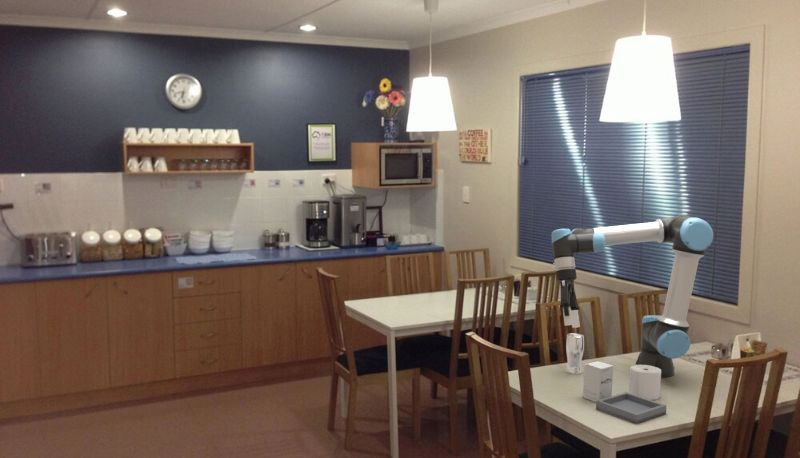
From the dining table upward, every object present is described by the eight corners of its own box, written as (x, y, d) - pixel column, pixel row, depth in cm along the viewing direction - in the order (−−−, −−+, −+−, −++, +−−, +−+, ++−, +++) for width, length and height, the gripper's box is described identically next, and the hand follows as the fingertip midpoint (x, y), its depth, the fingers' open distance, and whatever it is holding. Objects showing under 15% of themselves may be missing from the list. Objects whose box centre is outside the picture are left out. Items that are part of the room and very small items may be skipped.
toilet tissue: (653, 390, 272) (655, 364, 271) (665, 402, 260) (667, 374, 259) (625, 390, 272) (626, 364, 271) (635, 401, 260) (637, 374, 259)
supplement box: (598, 403, 257) (600, 368, 256) (582, 397, 263) (583, 363, 261) (612, 399, 261) (614, 365, 260) (595, 393, 267) (597, 360, 266)
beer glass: (583, 375, 289) (584, 338, 288) (565, 373, 291) (566, 337, 289) (582, 369, 296) (584, 333, 295) (564, 368, 298) (566, 332, 296)
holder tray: (625, 400, 261) (626, 392, 260) (666, 413, 248) (666, 405, 247) (595, 409, 251) (596, 400, 251) (636, 423, 238) (636, 415, 238)
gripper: (562, 275, 287) (569, 329, 282) (547, 266, 265) (554, 325, 260) (581, 272, 284) (588, 327, 279) (568, 264, 262) (575, 323, 257)
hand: (572, 326), depth 269 cm, fingers open, 13 cm apart
